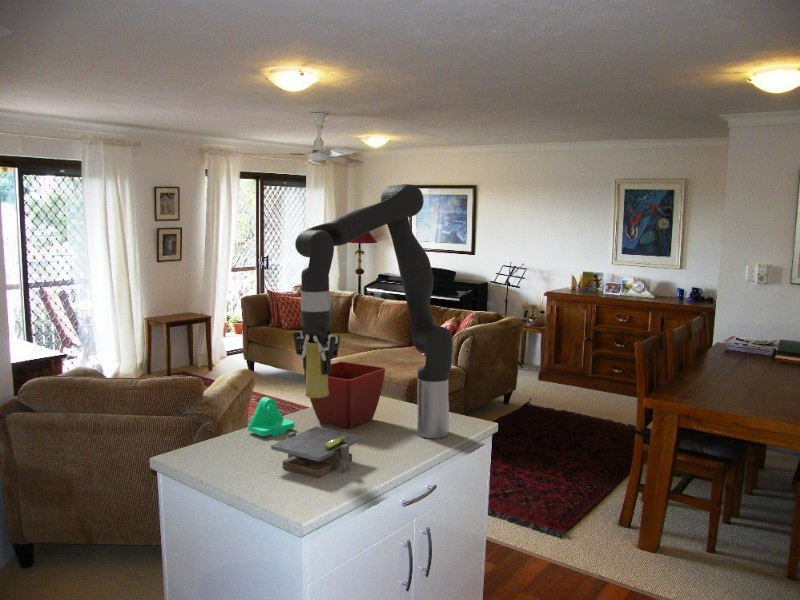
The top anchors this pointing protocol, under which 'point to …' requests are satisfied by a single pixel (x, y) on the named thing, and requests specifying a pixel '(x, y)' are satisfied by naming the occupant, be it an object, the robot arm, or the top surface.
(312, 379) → the vase
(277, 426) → the camera mount
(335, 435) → the tilt plate
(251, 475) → the top surface
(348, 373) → the plant pot
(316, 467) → the levelling stand
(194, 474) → the top surface
